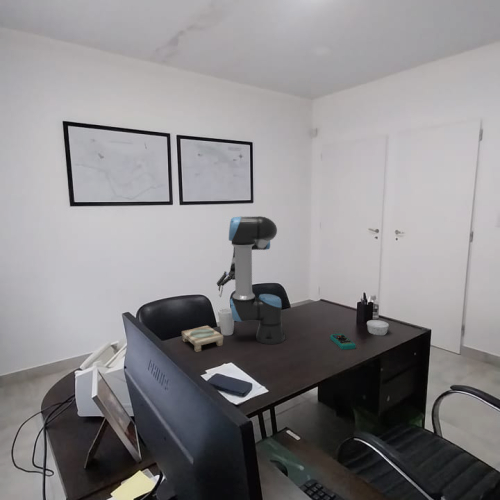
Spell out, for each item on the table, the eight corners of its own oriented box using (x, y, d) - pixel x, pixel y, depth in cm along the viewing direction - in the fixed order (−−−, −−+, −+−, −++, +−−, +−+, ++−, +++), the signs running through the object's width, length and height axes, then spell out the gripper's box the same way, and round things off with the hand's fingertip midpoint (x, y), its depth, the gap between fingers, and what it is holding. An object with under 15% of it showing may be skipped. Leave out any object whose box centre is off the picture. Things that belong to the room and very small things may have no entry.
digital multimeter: (342, 338, 179) (342, 332, 179) (356, 349, 165) (356, 343, 164) (329, 339, 178) (329, 333, 178) (342, 350, 163) (342, 345, 163)
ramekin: (386, 337, 178) (387, 328, 177) (364, 334, 183) (365, 324, 182) (389, 331, 187) (390, 321, 187) (368, 327, 193) (369, 318, 192)
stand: (223, 345, 171) (223, 335, 170) (196, 352, 163) (195, 342, 162) (207, 334, 186) (207, 325, 185) (182, 340, 178) (181, 331, 177)
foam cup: (222, 337, 181) (221, 314, 179) (216, 332, 189) (215, 309, 187) (238, 334, 185) (238, 311, 183) (231, 329, 193) (231, 307, 192)
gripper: (257, 270, 208) (253, 300, 196) (218, 269, 213) (212, 298, 201) (256, 263, 203) (251, 294, 190) (216, 262, 208) (209, 292, 195)
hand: (231, 296), depth 195 cm, fingers open, 13 cm apart
